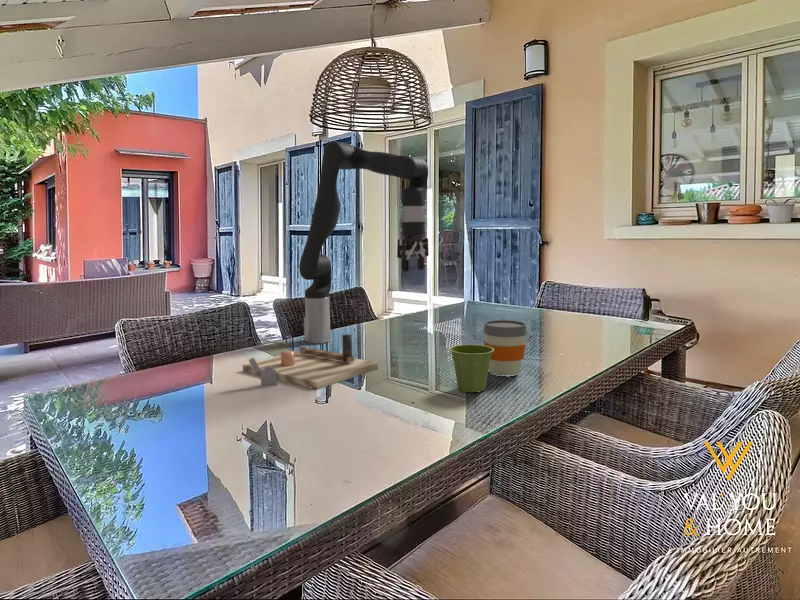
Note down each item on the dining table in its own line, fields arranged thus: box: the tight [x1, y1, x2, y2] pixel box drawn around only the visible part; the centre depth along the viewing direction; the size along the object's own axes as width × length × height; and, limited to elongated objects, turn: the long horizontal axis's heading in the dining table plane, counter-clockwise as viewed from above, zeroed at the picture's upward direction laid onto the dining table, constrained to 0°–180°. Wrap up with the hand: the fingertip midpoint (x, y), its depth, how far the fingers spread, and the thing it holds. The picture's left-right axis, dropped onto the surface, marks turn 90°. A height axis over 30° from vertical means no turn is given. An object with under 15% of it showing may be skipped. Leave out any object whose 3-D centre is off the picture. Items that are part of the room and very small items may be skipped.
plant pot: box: [448, 344, 494, 393], centre depth 143 cm, size 12×12×11 cm
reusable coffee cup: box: [483, 319, 528, 375], centre depth 159 cm, size 13×13×15 cm
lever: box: [299, 333, 355, 362], centre depth 170 cm, size 22×3×8 cm, turn 53°
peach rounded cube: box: [280, 350, 295, 366], centre depth 163 cm, size 4×4×4 cm
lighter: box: [248, 357, 278, 387], centre depth 149 cm, size 7×2×8 cm, turn 106°
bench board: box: [242, 350, 379, 389], centre depth 165 cm, size 32×26×2 cm
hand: (413, 270), depth 176 cm, fingers open, 8 cm apart
